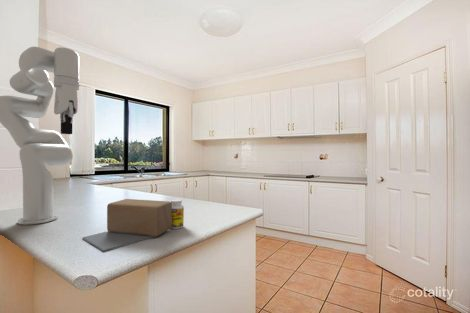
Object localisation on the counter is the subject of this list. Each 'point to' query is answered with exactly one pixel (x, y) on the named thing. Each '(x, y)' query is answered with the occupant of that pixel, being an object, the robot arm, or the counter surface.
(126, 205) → the block
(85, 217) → the counter surface
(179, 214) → the supplement bottle
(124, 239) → the mat
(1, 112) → the robot arm
